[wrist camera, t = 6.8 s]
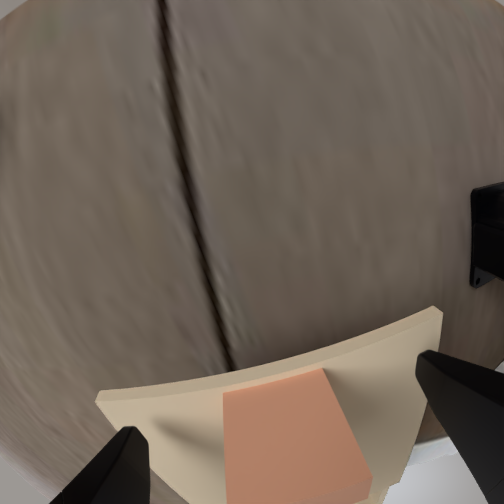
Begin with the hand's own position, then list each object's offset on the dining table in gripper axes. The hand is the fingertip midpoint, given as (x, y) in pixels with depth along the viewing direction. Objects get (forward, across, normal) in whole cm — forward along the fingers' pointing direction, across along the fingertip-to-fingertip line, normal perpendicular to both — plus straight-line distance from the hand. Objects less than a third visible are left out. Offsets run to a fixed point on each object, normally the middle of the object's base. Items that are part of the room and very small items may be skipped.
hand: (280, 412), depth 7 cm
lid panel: (+1, 0, +6) cm, 6 cm away
